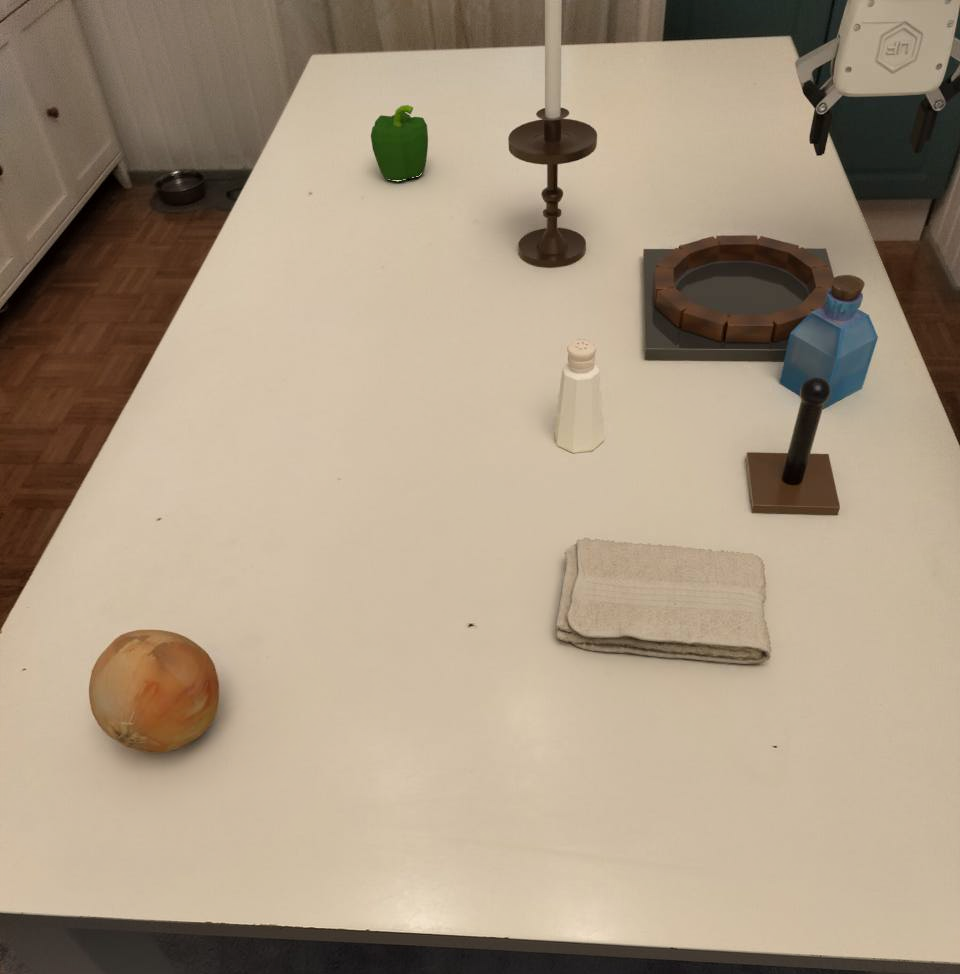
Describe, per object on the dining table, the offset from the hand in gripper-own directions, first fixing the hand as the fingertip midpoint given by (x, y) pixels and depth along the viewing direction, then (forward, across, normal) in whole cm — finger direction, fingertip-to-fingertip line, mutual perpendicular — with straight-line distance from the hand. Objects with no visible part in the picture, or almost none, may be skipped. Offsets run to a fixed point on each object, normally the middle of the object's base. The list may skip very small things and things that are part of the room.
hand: (866, 149), depth 95 cm
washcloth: (+19, -20, -48) cm, 56 cm away
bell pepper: (+18, -58, +38) cm, 72 cm away
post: (+19, -8, -32) cm, 38 cm away
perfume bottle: (+19, -2, -15) cm, 24 cm away
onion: (+19, -60, -64) cm, 90 cm away
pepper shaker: (+19, -28, -25) cm, 42 cm away
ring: (+17, -10, +1) cm, 20 cm away
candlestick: (+18, -34, +15) cm, 41 cm away
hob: (+19, -10, +1) cm, 21 cm away
